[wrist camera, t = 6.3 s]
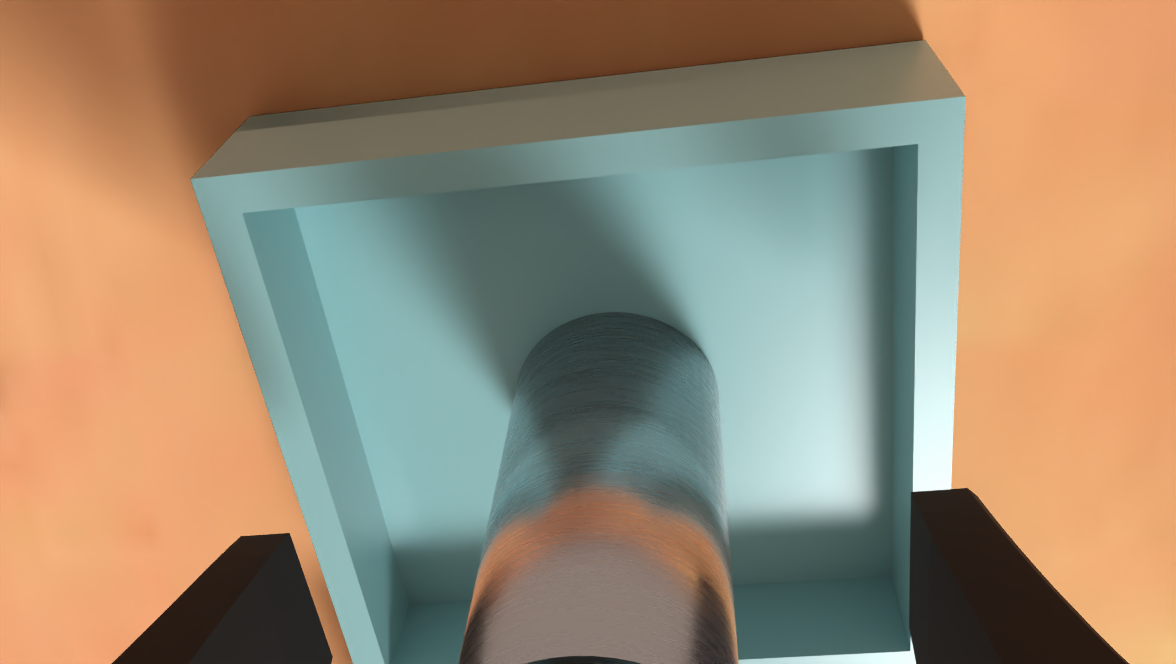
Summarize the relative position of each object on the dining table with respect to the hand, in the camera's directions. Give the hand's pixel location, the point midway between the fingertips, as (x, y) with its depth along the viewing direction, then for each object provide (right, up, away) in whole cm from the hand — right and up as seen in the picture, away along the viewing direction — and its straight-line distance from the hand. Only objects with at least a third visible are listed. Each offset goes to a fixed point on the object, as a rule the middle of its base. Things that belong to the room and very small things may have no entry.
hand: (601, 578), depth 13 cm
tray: (0, +2, +4) cm, 5 cm away
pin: (0, +2, +4) cm, 4 cm away
